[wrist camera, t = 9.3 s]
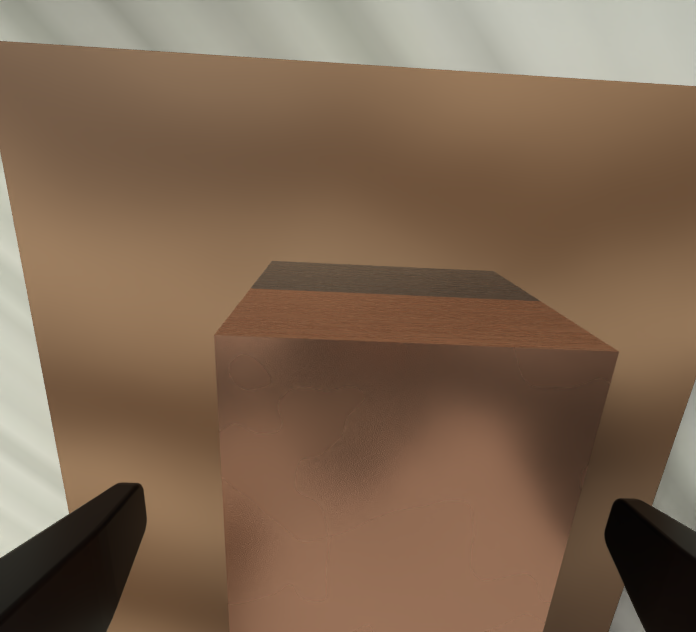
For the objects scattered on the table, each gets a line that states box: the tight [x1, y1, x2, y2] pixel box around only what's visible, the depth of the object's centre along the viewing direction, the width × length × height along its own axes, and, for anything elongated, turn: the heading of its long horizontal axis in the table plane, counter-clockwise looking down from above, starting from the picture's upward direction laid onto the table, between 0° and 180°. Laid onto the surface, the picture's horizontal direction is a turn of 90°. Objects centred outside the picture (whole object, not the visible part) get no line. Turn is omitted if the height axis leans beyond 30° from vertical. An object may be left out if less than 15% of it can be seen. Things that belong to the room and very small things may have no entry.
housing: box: [214, 261, 619, 632], centre depth 9 cm, size 5×10×5 cm, turn 177°
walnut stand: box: [0, 41, 696, 632], centre depth 12 cm, size 16×16×2 cm
